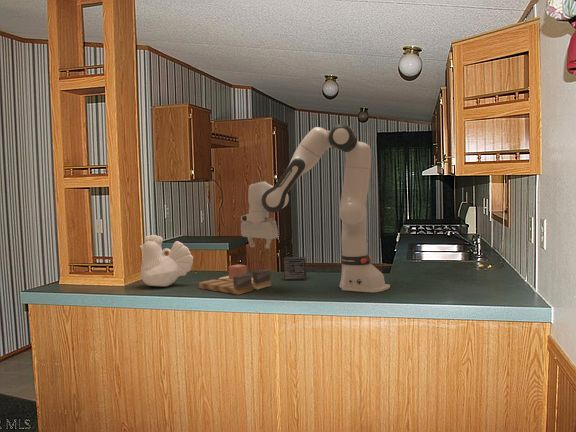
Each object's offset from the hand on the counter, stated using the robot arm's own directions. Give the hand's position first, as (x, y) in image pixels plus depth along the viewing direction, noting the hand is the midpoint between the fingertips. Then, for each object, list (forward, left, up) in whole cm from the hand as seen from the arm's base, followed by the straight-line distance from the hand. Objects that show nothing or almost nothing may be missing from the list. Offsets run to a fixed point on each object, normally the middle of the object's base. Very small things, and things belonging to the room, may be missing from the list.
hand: (259, 247), depth 253 cm
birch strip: (+11, 0, -18) cm, 22 cm away
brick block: (+15, 0, -16) cm, 22 cm away
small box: (-1, -23, -19) cm, 30 cm away
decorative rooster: (+42, +21, -19) cm, 51 cm away
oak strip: (+11, +12, -18) cm, 25 cm away
